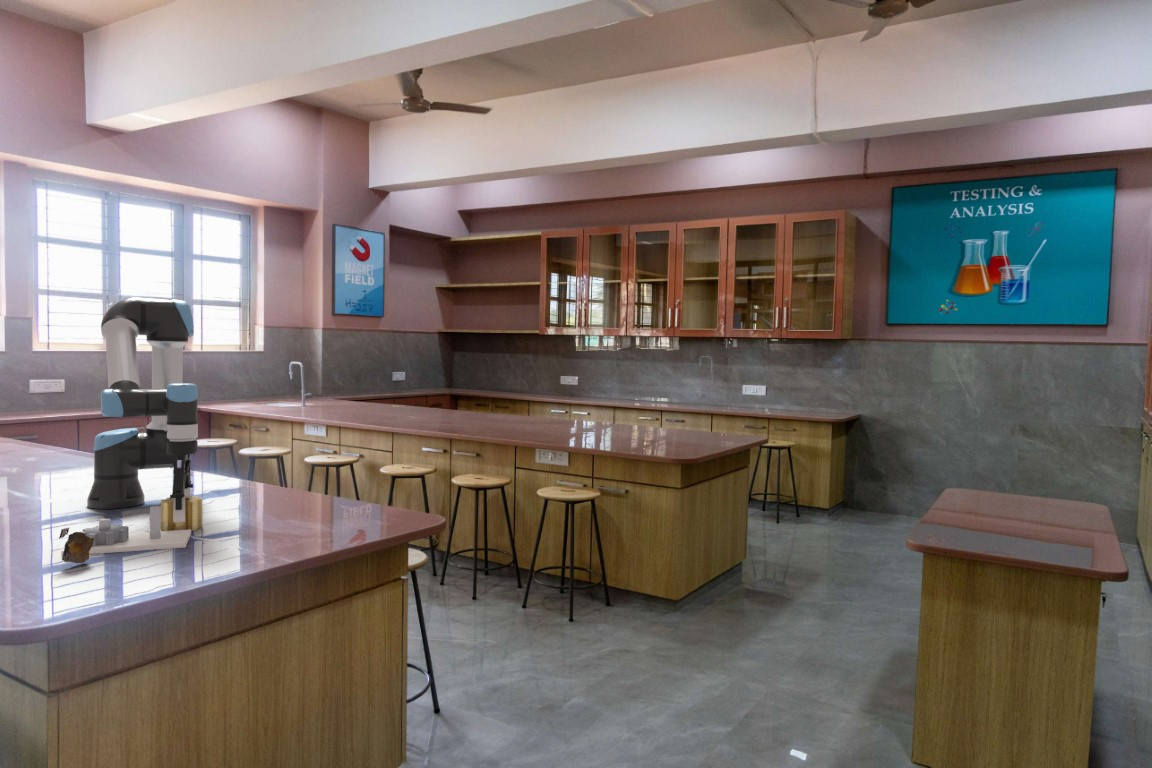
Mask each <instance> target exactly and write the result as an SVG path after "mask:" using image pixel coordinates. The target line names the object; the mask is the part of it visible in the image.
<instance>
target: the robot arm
mask: <svg viewBox="0 0 1152 768" xmlns="http://www.w3.org/2000/svg"><path fill="white" fill-rule="evenodd" d="M194 327H195V326H194V319H193V314H192V309H191V306H190V304H189V303H188V302H187V301H185V300H181V299H173V298H155V297H154V298H150V297H149V298H148V297H128V298H125V299H122V300H120V301H118V302H116V303H114V304H113V305H112V306H111V307H109V309H107V311H106V312H105V314H104V315H103V317H102V321H101V326H100V330H101V335H102V337H103V339H104V340H105V348H106V364H107V365H106V366H107V367H106V368H107V383H108V389H103V390H102V391H101V392H100V413H101V415H102V416H103V417H107V418H108V417H109V418H128V417H131V418H133V417H151V422H149V423H148V424H147V425H146V426H145V432H139V429H138V428H136V427H131V428H129V427H128V428H127V427H126V428H120V429H119V428H118V429H113V430H107V431H103V432H100V433H98V434H96V435H95V437H94V443H93V444H94V445H93V449H92V450H93V451H94V454H93V455H94V456H93V457H94V460H93V462H94V463H93V465H94V466H93V477H94V478H93V483H92V486H91V489H90V491H89V493H88V497H87V499H86V500H87V501H86V504H87V505H86V506H87V507H88V508H90V509H94V510H95V509H96V510H97V509H98V510H112V509H113V510H114V509H124V508H130V507H131V508H132V507H135V506H136V507H137V506H140V505H142V504H144V503H145V493H144V491H143V488H142V485H141V482H140V480H139V470H151V469H168V468H169V469H173V476H172V477H173V479H172V493H171V494H170V495H169V497H170V498H173V522H185V497H184V496H189V497H191V489H192V488H194V483H192V481H191V465H192V460H191V455H195V454H197V453H198V450H199V448H198V443H199V442H198V441H197V438H198V437H199V429H198V428H199V424H198V403H199V402H198V398H199V393H198V386H197V384H195V383H188V382H187V383H183V372H184V371H183V365H184V364H183V363H184V362H183V361H184V360H183V357H184V356H183V355H184V353H183V352H184V351H183V349H184V348H183V347H184V346H186V345H187V344H188V343H189V338H192V337H193V336H194V331H195V330H194ZM138 335H139V336H146V342H147V343H148V344H149V345H150V346H151V389H147V388H146V389H144V388H143V389H142V388H141V386H140V385H141V384H140V374H139V363H138V355H137V354H138V352H137V338H138Z"/></svg>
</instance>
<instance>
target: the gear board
mask: <svg viewBox="0 0 1152 768" xmlns="http://www.w3.org/2000/svg"><path fill="white" fill-rule="evenodd" d="M129 531H130V530H129V526H128V525H121V524H111V518H100V519H98V525H95V526H94V527H85V528H83V529H82V531H81V532H82V533H83V534H85V536H87V537H89V538H94V541H93V546H92V547H91V548H90V551H89V555H95V554H97V555H98V554H110V553H122V552H140V551H141V552H142V551H153V550H155V549H156V550H165V549H167V550H169V549H170V550H171V549H181V548H182V549H183V548H186V547H187V545H188V543H189V540H190V538H191V536H192V531H191V530H175V531H163V530H161V505H154V506H150V507H149V531H145V532H143V531H142V532H130V533H129ZM156 550H155V551H156ZM63 552H64V548H63V549H62V550H61V552H60V555H61V557H63Z"/></svg>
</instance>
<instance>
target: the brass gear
mask: <svg viewBox="0 0 1152 768" xmlns="http://www.w3.org/2000/svg"><path fill="white" fill-rule="evenodd" d="M184 497H185V522H173V498H170V496H169V497H166V499H161V500H160V506H161V531H175V530H191V532H192V531H193V532H194V531H197V530H198V529H200V528H202V527H203V497H200V495H199V496H198V495H194V496H193V495H192V496H191V495H190V497H189V496H184Z"/></svg>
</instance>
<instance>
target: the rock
mask: <svg viewBox="0 0 1152 768" xmlns="http://www.w3.org/2000/svg"><path fill="white" fill-rule="evenodd" d="M69 531H70V527H66V528H62V529H61V530H60V534H59V537H58V539H62V538H65V536H68V538H67V541H65V544H64V547H63V549H64V552H63V556H62V558H61V561H63V562H64V563H74V564H84V563H86V562H87V561H88V560H89V559H90V554H89V551H90V548H91V547H92V546H93V541H94V538H89V537H87V536H85V534H83V533H82V531H74V532H73V533H70V534H68V533H69Z"/></svg>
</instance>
